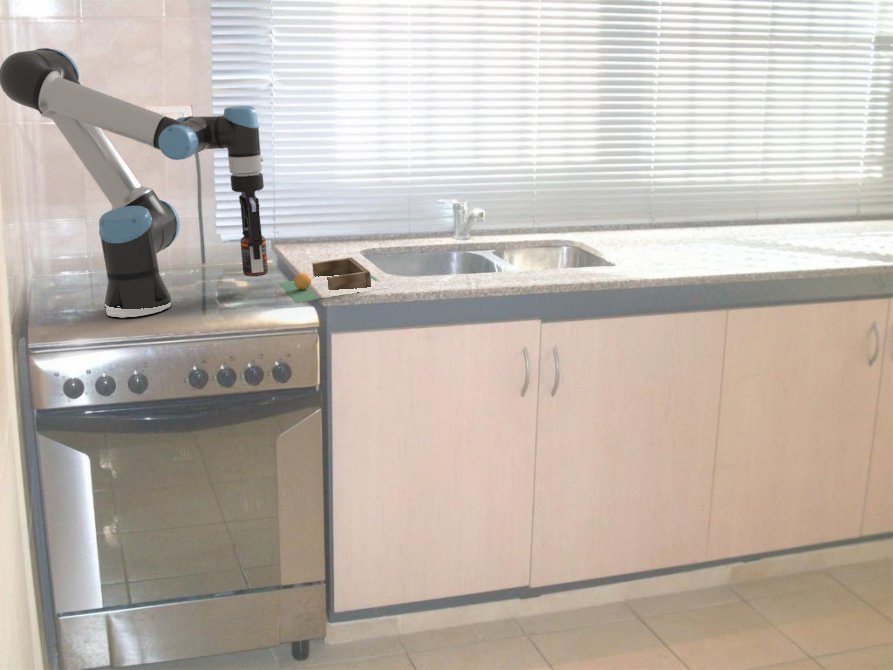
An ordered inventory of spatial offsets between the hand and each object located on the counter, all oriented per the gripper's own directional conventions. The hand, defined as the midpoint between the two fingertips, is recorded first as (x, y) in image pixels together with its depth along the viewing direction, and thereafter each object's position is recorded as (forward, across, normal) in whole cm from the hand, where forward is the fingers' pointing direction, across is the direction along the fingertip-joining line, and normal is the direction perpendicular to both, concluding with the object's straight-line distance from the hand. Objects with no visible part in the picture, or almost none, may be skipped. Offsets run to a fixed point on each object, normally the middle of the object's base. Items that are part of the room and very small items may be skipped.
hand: (255, 268), depth 269 cm
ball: (+5, -7, -10) cm, 13 cm away
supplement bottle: (+2, 0, 0) cm, 2 cm away
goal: (+4, -7, -19) cm, 21 cm away
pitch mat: (+5, -8, -17) cm, 19 cm away
